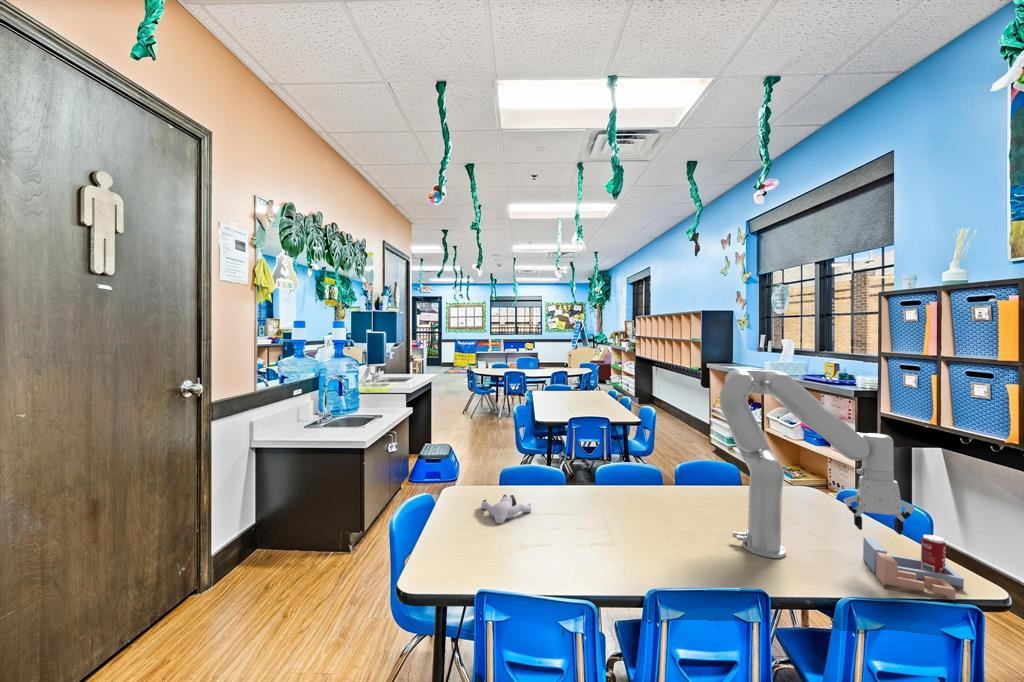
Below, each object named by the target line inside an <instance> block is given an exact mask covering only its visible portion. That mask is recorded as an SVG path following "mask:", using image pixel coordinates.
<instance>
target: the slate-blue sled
mask: <svg viewBox="0 0 1024 682" xmlns="http://www.w3.org/2000/svg"><path fill="white" fill-rule="evenodd" d="M862 545H863V548H862V549H863V550H862V559H863V561H864V562H865V563H866V564H867V566H868V567H869V568H870V570H871V571H872V573H874V574H876V568H877V552H878V553H884V554H888V551H887V550H886V548H885V547H883V546H882V545H881V543H880V542H879V541H878V540H877V538H872V537H867V536H866V537H865V536H863V544H862ZM890 555H891V556H892V558H893V559H894V560H895V561H896V562H897V563H898V570H899V571H905V572H911V573H915V574H916V575H917V579H921V580H924V576H928V577H934V578H939V579H944V580H945V581H947V582H948V583H949V584H950V585H955V586H961V587H963V590H964V584H965V582H964V581H965V580H964V578H963V577H962V576H961V574H959V573H958V572H957V571H955V570H954V568H952V567H951V566H950V565H949V564H948V563H945V574H941V573H935V572H929V571H924V570H921V558H920V559H918V558H913V557H906V556H900V555H894V554H890Z"/></svg>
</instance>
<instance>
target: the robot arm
mask: <svg viewBox="0 0 1024 682" xmlns="http://www.w3.org/2000/svg"><path fill="white" fill-rule="evenodd" d="M751 394H752V395H770V396H771V397H772V398H774V399H775V400H776V401H777V402H778V403H779V404H780V405H781V406H783V407H784V408H785V409H786V410H787V411H788V412H790V414H792V416H794V417H795V418H796V419H797V420H799V421H800V422H801V423H802V424H804V425H805V426H806V427H808V428H810V429H811V430H813V431H814V432H816V433H817V434H818V435H819V436H821V437H822V438H823V439H824V440H825V441H826V442H828V443H829V444H830V446H831V448H832V449H833V450H834V451H835V452H837V453H838V454H840V455H842V456H843V457H845V458H846V459H848V460H850V461H856V462H858V461H861V467H860V468H856V474H859V479H858V483H857V489H856V494H855V495H852V496H849V497H845V498H843V502H844V504H845V506H846V508H847V509H848V511H850V512H851V513H853V518H854V519H853V521H854V522H853V524H854V526H856V527H857V529H858V530H860V531H862V530H863V517H862V514H864V513H870V514H877V515H878V514H879V515H884V516H885V515H886V516H894V518H893V520H894V521H893V526H894V528H893V530H894V532H895V533H896V534H898V535H900V536H901V535H902V532H903V531H904V522H905V521H906V520H907V519H908V518H910V517H911V515H912V513H914V511H915V507H914V506H913V505H911V504H909V503H907V502H905V501H904V500H901V499H902V498H901V492H900V487H899V484H898V483H899V482H898V481H897V480H895V479H894V477H895V476H894V475H895V474H894V471H895V470H894V439H893V438H892V437H891V436H890V435H888V434H883V433H878V432H877V433H875V432H873V433H872V432H868V433H865V432H864V433H863V432H857V431H855V429H853V428H852V427H851V426H850V425H848V424H847V423H846V422H845V421H844V420H843V419H841V418H840V417H839V416H837V415H836V414H835V412H833V411H832V410H831V409H830V408H828V407H827V406H826V405H825V404H824V403H822V401H820V400H819V399H817V397H815V396H814V395H813V394H812V393H811V392H809V390H807V389H806V388H805V387H803V385H801V384H800V383H799V382H798V381H796V379H794V378H793V377H792V376H791V375H789V374H788V373H786V372H782V371H780V370H770V369H769V370H768V369H767V370H759V369H743V368H742V369H739V368H738V369H732V370H730V371H729V372H727V373H726V375H725V378H724V383H723V386H722V388H721V389H720V393H719V406H720V409H721V412H722V414H723V416H724V419H725V421H726V423H727V426H729V429H730V431H731V437H732V439H733V441H734V443H735V446H737V449H738V451H739V453H740V455H741V456H742V459H743V461H744V463H745V464H746V466H747V468H748V470H749V483H748V484H749V486H748V515H747V516H748V517H747V529H746V530H745V531H743V532H738V531H735V530H732V535H731V536H732V538H736V540H737V541H742V543H741V544H742V545H741V546H742V547H743V548H744V549H745V550H747V551H748V552H749V553H751V554H754V555H757V556H758V557H759V556H760V557H764V558H769V559H780V558H784V557H785V556H786V555H787V550H786V548H785V547H784V546H783V545H781V543H782V541H781V540H782V507H783V506H782V505H783V504H782V503H783V502H782V501H783V489H784V487H783V486H784V481H785V471H784V468H783V465H782V463H781V461H780V460H779V459H778V458H777V456H775V454H774V452H773V450H772V449H771V447H770V445H769V443H768V441H767V440H766V439H767V438H766V435H765V432H764V430H763V429H762V427H761V426H760V425H759V423H758V421H757V419H756V418H755V415H754V414H753V411H752V409H751V407H750V404H749V396H750V395H751ZM860 475H861V476H860ZM854 502H856V505H857V506H856V507H854V506H853V505H852V503H854ZM902 507H903V508H905V510H904V511H902Z"/></svg>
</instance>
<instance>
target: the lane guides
mask: <svg viewBox="0 0 1024 682" xmlns="http://www.w3.org/2000/svg"><path fill="white" fill-rule="evenodd" d="M917 580H918V581H923V582H924V580H921V579H917ZM883 586H884V589H887V590H891V591H896V592H903V593H907V594H912V595H917V596H923V597H928V598H934V599H939V600H945V601H948V599H947V596H946V595H941V594H936V593H932V592H930V591H929V592H928V591H925V590H924V591H920V590H914V589H909V588H903V587H898V586H893V585H887V584H885V585H883ZM951 586H952V587H953V588H954V589H955V591H959V590H961V591H960V592H964V589H963V587H961V586H955V585H951Z"/></svg>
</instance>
